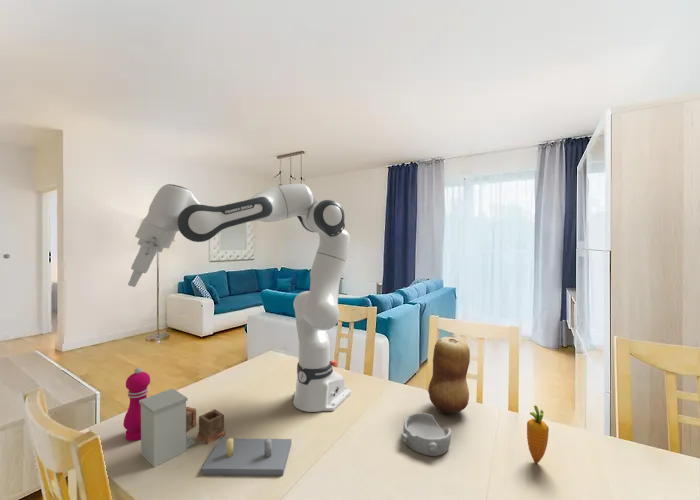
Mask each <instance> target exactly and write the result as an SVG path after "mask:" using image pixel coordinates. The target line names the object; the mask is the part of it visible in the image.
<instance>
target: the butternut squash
mask: <svg viewBox="0 0 700 500" xmlns="http://www.w3.org/2000/svg"><path fill="white" fill-rule="evenodd" d="M470 357H471V352H470V347H469V345H468V343H467V342H465V341H463V340H461V339H458V338H456V337H451V336H443V337H440V338H439V339H438V340H437V341H436V343H435V345H434V348H433V356H432V375H431V379H430V381H429V384H428V390H427V392H428V396H429V400H430V403H431V404H432V405H433V406H434V407H435V408H436V409H437V411H438V412H440V413H442V414H453V413H459V412H462V411H464V410H465V408H467V406H468V404H469V401H470V391H469V385H468V382H467V373H468V370H469V366H470V363H471V362H470V361H471V360H470Z"/></svg>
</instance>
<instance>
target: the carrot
mask: <svg viewBox="0 0 700 500" xmlns="http://www.w3.org/2000/svg"><path fill="white" fill-rule="evenodd" d="M533 408H534V411H535V412H534V411H532V412H531V411H530V412H529V414H530V415H531V416H532V417H533V418H531V419H528V421H527V422H526V438H527V445H528V450H529V453H530V456H531V458H532V460H533V462H534V463H535V464H538V463H540V461H541V460H542V459H543V457H544V455H545V453H546V450H547V446H548V440H549V430H550V429H549V426H548V424H546V422H545V421H544V420H543V417H544V410H543V409H540V410H539V408H538V406H537V405H536V404H534V405H533Z"/></svg>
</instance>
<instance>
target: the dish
mask: <svg viewBox="0 0 700 500" xmlns="http://www.w3.org/2000/svg"><path fill="white" fill-rule="evenodd" d="M402 431H403V433H402V434H401V439H402V441H403V442H404V443H406V445H407V446H408V447H409V448H410V449H411V450H413V451H415V452H417V453H418V454H419V453H420V454H422V455H425V456H430V457H435V456H436V457H437V456H441V455H443V454H445V453H446V452H447V451H448V450H449V448H450V445H451V440H452V430H451V428H450V427H448V428H446V429H445V430H444V429H442V427H441V426H440V424H439V423H438V422H437V421H436V419H435V417H434V415H433V414H431V413H426V412H417V413H412V414H411V413H410V414H409V415H408V416H407V417H406V418H405V419H404V422H403V430H402Z"/></svg>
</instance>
